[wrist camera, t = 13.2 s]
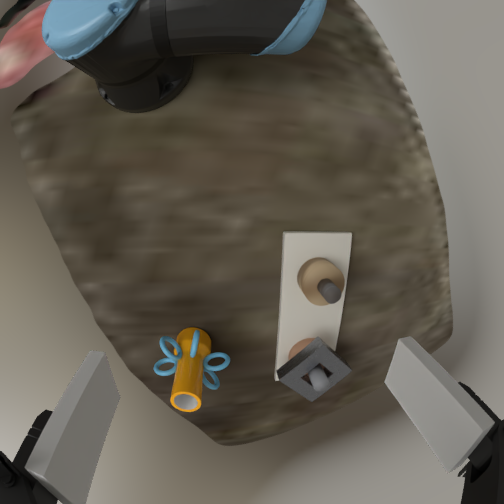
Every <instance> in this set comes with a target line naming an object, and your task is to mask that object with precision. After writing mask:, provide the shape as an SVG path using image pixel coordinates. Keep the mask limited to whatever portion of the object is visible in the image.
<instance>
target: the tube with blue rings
mask: <svg viewBox="0 0 504 504" xmlns="http://www.w3.org/2000/svg"><path fill="white" fill-rule="evenodd" d="M165 341H168V342H170V343H171V344H172V345H173V346H174V347H175V348H174V354H172V353H171V352H170V351H169V350H168V349H167V347H166V345H165ZM160 347H161V349H162V351H163V352H164V353H165V355H166V356H168V357H169V358H163V359H161V360H159V361H158V362H156V364H155V365H154V371H155V373H156V374H158V375H161V376H167V375H171V374H173V373H175V372H176V373H175V378H174V384H173V389H172V394H171V403H172V405H173V406H174V407H175V408H177V409H179V410H181V411H185V412H192V411H195V410H197V409H199V408H200V406H201V397H202V382H203V383H204V384H205V385H206V386H207V387H208V388H210V389H217V388H218V387H219V379H218V377H217V376H216V374H215V373H214V372H213V371H219V370H222V369H224V368H226V367H227V366H228V365H229V363H230V357H229V356H228V355H227V354H225V353H222V352H216V353H212V354H211V339H210V337H209V335H208V334H207V333H206V332H205V331H204V330H202V329H199V328H195V327H190V328H186V329H184V330H182V331H181V332H180V333H179V334H178V337H177V340H176V341H175V340H174V339H172V338H171V337H168V336H163V337H162V338H161V339H160ZM215 357H222V358H224V359H225V362H224V363H223V364H221V365H218V366H210V365H208V362H209V360H210V359H212V358H215ZM166 362H172V363H174V364H175V365H174V367H173V368H172V369H170V370H167V371H161V370H159V366H160V365H162V364H163V363H166ZM204 371H205V372H207V373H209V374H210V375H211V376H212V378H213V380H214V382H215V385H213V384H211V383H210V382H209V381H208V380H207V379H206V378H205V376H204Z"/></svg>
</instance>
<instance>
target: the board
mask: <svg viewBox="0 0 504 504" xmlns="http://www.w3.org/2000/svg"><path fill="white" fill-rule="evenodd" d="M351 240H352V233H350V232H316V231H283V247H282V269H281V288H280V305H279V321H278V336H277V350H276V363H275V375H274V377H275V381H279V379H278V375H277V371H276V370H278V369H279V368H280V367H281V366H283V365H284V364H285V363H286V362H288V361H289V358H288V355H289V352H290V350H291V348H292V347H293V346H294V345H295V344H296V343H297V342H299V341H301V340H303V339H307V338H317V337H320V338H321V339H322V340H323V341H324V342H325V343H326V344H327V345H328V346H330V347H331V348H332V349H333V350H334V351H335V349H336V344H337V339H338V334H339V328H340V322H341V317H342V311H343V304H344V298H345V291H346V284H347V276H348V268H349V259H350V250H351ZM315 257H322V258H325V259H327V260H329V261H330V262H331V263H332V264H334V265H335V266H336V267H337V268H338V269H339V270H340V271H341V272H342V273H343V276H344V279H345V286H344V289H343V292H342V294H341V298H340V300H339V301H338V302H336V303H334V304H329V305H325V306H317V305H314V304H312V303H311V302H309V301H308V300H307V298H306V297H305V295H304V294H303V292H302V290H301V289H300V287H299V285H298V282H297V275H298V271H299V269H300V267H301V266H302V265H303V264H304V263H305V262H306V261H308V260H309V259H312V258H315Z"/></svg>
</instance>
